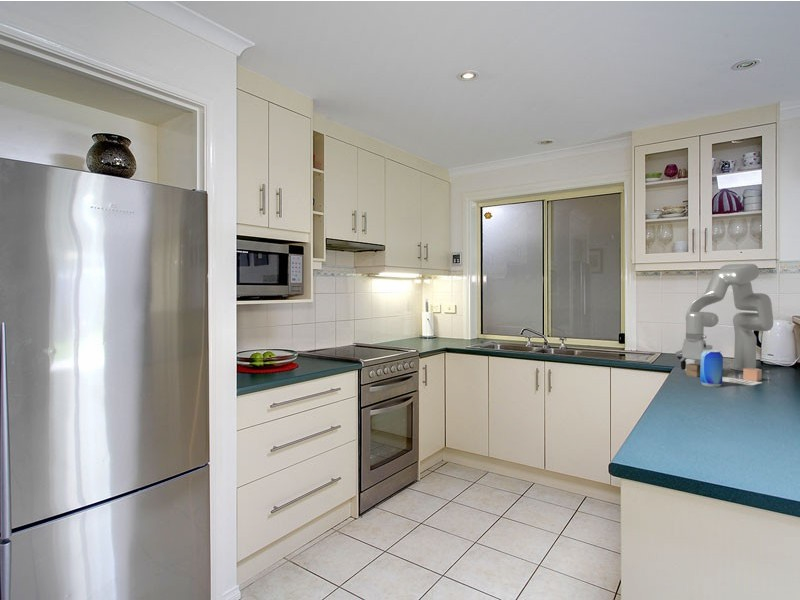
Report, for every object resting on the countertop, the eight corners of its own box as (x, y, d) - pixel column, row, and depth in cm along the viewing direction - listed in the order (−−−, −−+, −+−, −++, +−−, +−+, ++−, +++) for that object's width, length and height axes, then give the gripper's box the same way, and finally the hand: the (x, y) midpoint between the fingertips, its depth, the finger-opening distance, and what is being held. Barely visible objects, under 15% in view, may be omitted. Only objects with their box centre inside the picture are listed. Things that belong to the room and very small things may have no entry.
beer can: (715, 383, 212) (716, 349, 211) (726, 387, 203) (727, 352, 203) (696, 383, 212) (697, 349, 212) (706, 387, 204) (707, 351, 204)
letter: (722, 376, 228) (722, 376, 228) (763, 382, 214) (763, 382, 214) (710, 379, 221) (710, 379, 221) (751, 385, 207) (751, 385, 207)
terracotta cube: (748, 378, 224) (748, 367, 224) (761, 380, 220) (761, 369, 219) (743, 379, 221) (743, 368, 221) (756, 381, 217) (757, 370, 216)
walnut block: (690, 375, 233) (691, 363, 233) (701, 376, 229) (701, 364, 229) (685, 376, 230) (686, 364, 230) (696, 377, 226) (696, 365, 226)
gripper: (717, 338, 224) (716, 372, 224) (680, 335, 238) (679, 367, 239) (710, 339, 220) (709, 374, 220) (672, 335, 234) (672, 368, 235)
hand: (693, 370), depth 230 cm, fingers open, 9 cm apart
